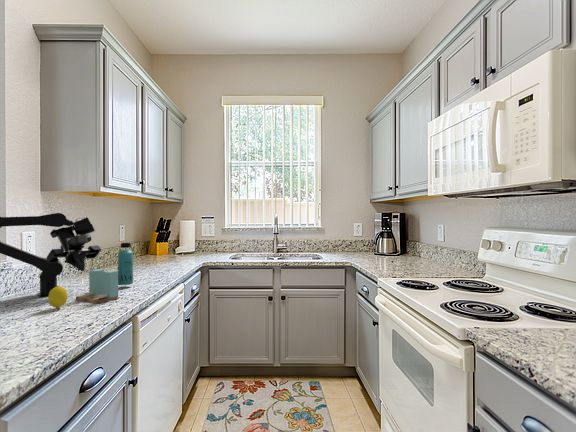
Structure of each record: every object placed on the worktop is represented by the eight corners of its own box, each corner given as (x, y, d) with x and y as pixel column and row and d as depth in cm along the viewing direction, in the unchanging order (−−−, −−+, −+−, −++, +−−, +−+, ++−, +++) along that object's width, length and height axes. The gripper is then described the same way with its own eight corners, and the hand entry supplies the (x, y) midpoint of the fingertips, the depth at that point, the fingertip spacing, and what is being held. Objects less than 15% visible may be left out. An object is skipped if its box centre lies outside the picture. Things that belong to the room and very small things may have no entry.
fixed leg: (96, 298, 123) (96, 273, 123) (111, 294, 129) (111, 270, 129) (102, 299, 122) (102, 273, 122) (118, 295, 128) (118, 271, 128)
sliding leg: (81, 296, 126) (81, 271, 126) (97, 292, 132) (97, 269, 132) (87, 297, 125) (88, 272, 125) (103, 293, 131) (103, 269, 131)
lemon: (57, 311, 111) (57, 287, 111) (43, 310, 112) (43, 286, 112) (71, 307, 116) (71, 284, 116) (58, 306, 117) (58, 283, 117)
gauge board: (75, 299, 126) (75, 296, 126) (94, 295, 133) (94, 292, 133) (100, 303, 121) (100, 299, 121) (118, 298, 128) (118, 295, 128)
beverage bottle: (113, 287, 147) (113, 242, 147) (126, 285, 153) (126, 241, 153) (124, 289, 144) (124, 243, 144) (136, 286, 150) (136, 242, 150)
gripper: (51, 228, 126) (66, 260, 121) (99, 226, 142) (114, 255, 137) (39, 246, 130) (54, 278, 125) (87, 243, 146) (102, 271, 141)
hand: (83, 270), depth 132 cm, fingers closed
